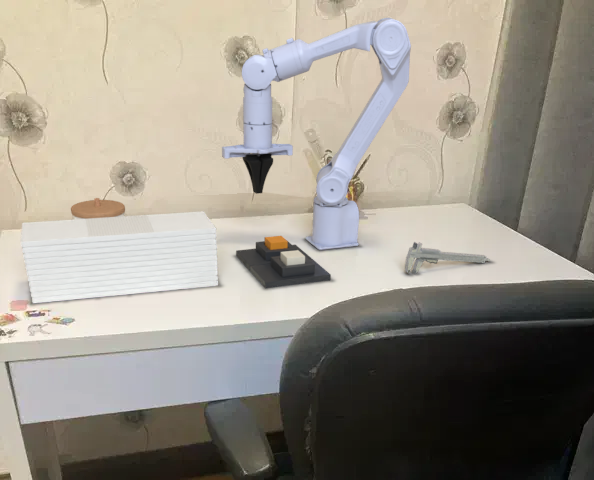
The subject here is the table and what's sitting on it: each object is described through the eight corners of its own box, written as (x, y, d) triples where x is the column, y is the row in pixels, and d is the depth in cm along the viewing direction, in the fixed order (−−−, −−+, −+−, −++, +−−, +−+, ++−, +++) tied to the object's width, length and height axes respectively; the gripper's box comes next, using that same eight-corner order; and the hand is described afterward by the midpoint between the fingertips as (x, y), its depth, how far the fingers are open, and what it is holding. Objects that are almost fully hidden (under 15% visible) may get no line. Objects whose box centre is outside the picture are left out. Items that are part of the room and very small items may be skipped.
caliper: (407, 275, 128) (410, 244, 125) (404, 273, 129) (407, 242, 125) (490, 262, 136) (495, 232, 132) (486, 260, 136) (492, 230, 133)
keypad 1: (295, 249, 139) (295, 235, 137) (311, 264, 132) (312, 249, 130) (236, 256, 135) (235, 241, 133) (249, 271, 127) (249, 256, 126)
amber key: (281, 244, 134) (281, 235, 133) (287, 249, 131) (287, 241, 130) (264, 245, 133) (264, 237, 132) (270, 251, 130) (270, 242, 129)
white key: (297, 258, 127) (298, 250, 126) (304, 265, 124) (305, 256, 123) (280, 260, 126) (280, 251, 125) (287, 267, 123) (287, 258, 122)
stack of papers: (32, 303, 112) (20, 241, 106) (33, 280, 120) (22, 222, 115) (218, 285, 121) (215, 227, 115) (206, 265, 129) (203, 211, 124)
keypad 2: (312, 264, 132) (312, 250, 130) (330, 280, 124) (331, 265, 123) (250, 271, 127) (250, 256, 126) (265, 288, 120) (265, 272, 119)
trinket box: (65, 247, 136) (57, 201, 132) (97, 232, 145) (91, 189, 140) (108, 254, 133) (102, 208, 128) (138, 239, 142) (134, 195, 137)
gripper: (228, 127, 125) (229, 199, 132) (299, 125, 130) (296, 194, 137) (218, 121, 131) (220, 190, 138) (286, 119, 136) (284, 186, 143)
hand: (257, 192), depth 138 cm, fingers closed
